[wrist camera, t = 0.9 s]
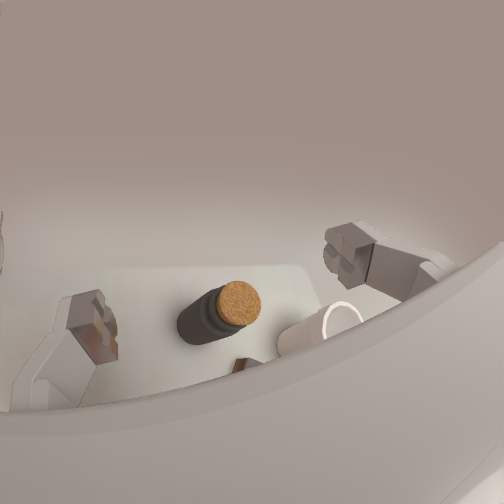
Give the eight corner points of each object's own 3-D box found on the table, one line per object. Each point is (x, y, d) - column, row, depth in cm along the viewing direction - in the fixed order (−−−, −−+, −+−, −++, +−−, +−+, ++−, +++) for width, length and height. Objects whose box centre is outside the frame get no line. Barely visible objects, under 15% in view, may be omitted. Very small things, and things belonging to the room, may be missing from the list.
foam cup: (300, 313, 50) (353, 293, 40) (318, 358, 48) (373, 347, 38) (260, 331, 45) (312, 314, 35) (280, 380, 43) (337, 377, 33)
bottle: (218, 317, 42) (271, 290, 31) (206, 351, 39) (257, 339, 27) (185, 300, 41) (226, 265, 29) (170, 334, 37) (205, 315, 26)
